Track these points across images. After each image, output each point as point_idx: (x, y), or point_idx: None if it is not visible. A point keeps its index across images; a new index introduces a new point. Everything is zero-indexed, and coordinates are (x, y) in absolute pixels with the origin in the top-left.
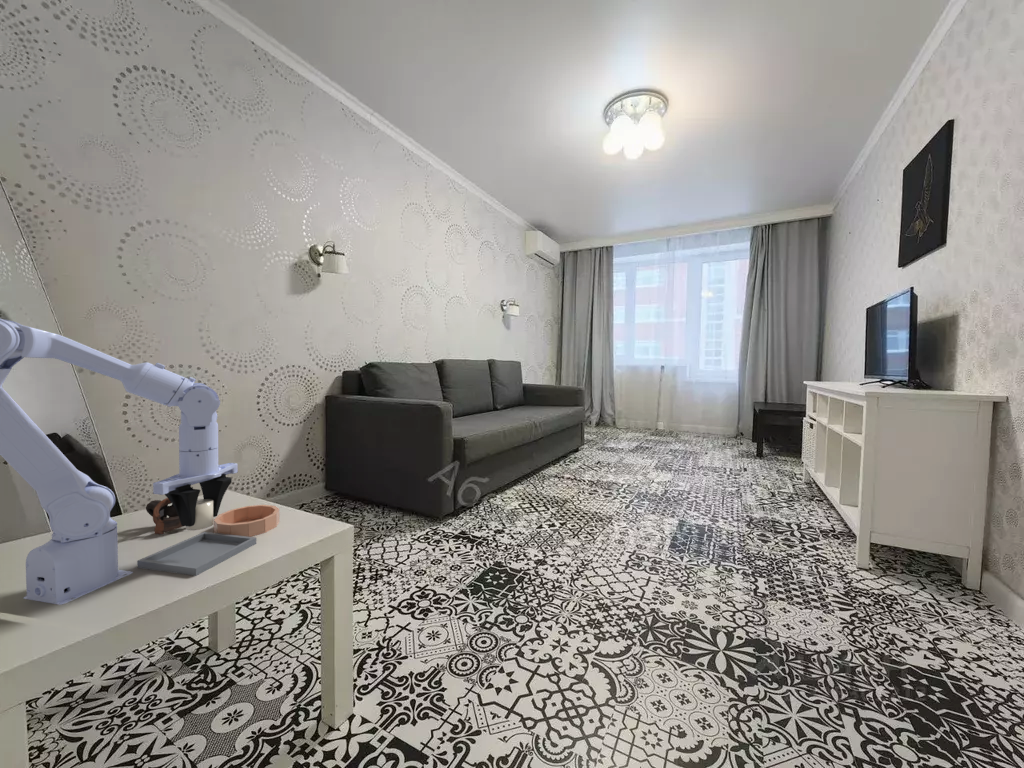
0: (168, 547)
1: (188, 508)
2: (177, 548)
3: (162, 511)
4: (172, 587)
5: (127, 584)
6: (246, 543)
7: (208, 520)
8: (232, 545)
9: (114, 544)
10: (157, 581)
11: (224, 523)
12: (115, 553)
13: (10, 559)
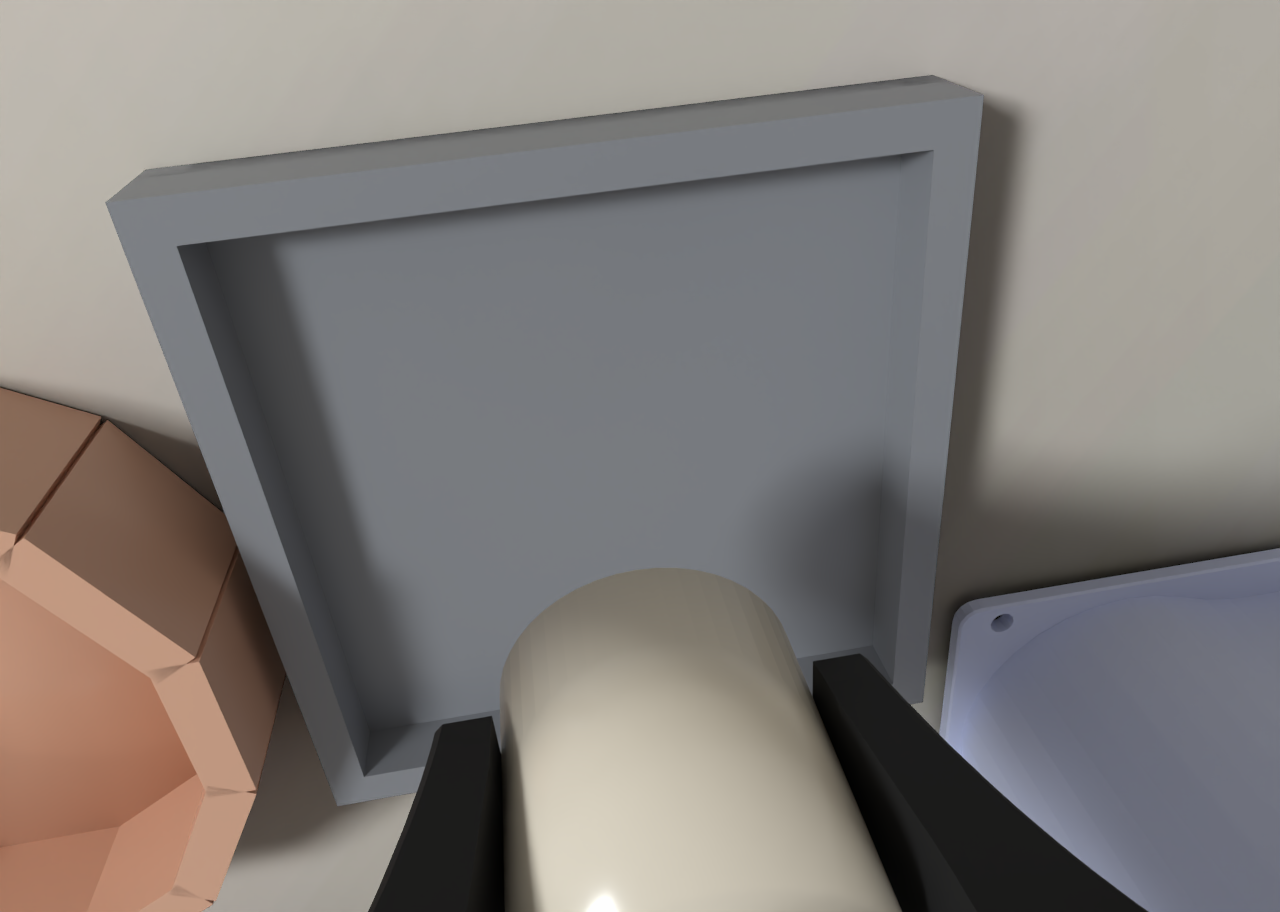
0: None
1: (1096, 873)
2: None
3: None
4: (1083, 137)
5: (1062, 508)
6: (283, 177)
7: (659, 636)
8: (324, 393)
9: (1220, 842)
10: (1005, 364)
11: (208, 748)
12: (1150, 775)
13: None
